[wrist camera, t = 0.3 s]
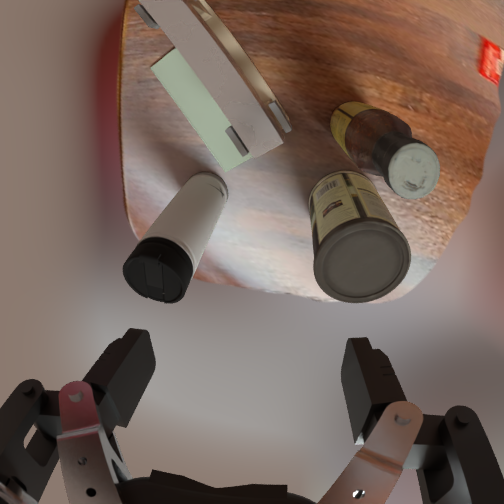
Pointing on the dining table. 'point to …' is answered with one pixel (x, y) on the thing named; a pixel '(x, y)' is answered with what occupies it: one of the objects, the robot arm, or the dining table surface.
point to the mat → (198, 108)
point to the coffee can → (355, 239)
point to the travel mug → (177, 240)
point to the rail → (217, 73)
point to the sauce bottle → (385, 148)
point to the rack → (242, 61)
